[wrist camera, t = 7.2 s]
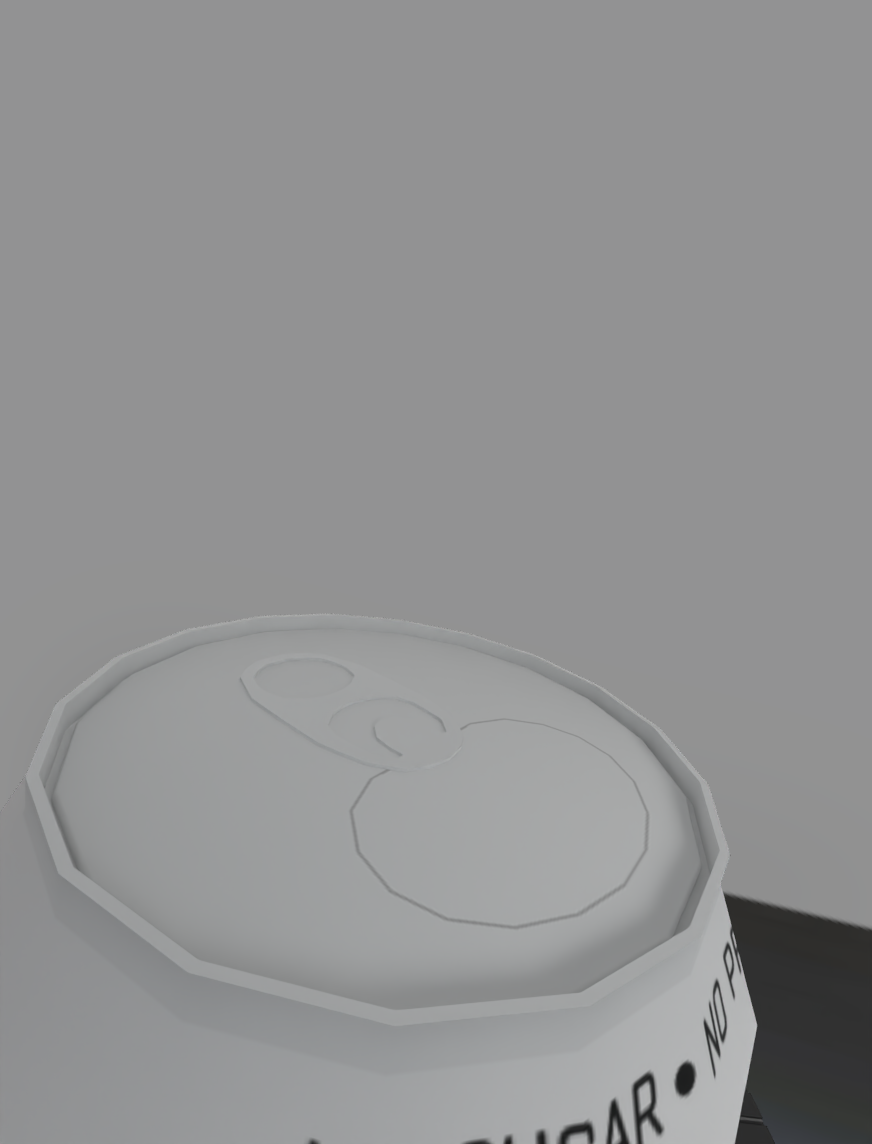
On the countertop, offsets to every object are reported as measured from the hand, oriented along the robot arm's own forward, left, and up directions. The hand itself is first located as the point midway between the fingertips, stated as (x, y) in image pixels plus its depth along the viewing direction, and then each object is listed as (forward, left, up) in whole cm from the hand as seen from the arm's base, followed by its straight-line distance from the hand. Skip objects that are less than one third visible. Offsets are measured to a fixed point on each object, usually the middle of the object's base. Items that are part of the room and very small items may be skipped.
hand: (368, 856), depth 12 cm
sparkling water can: (+1, +5, -9) cm, 10 cm away
